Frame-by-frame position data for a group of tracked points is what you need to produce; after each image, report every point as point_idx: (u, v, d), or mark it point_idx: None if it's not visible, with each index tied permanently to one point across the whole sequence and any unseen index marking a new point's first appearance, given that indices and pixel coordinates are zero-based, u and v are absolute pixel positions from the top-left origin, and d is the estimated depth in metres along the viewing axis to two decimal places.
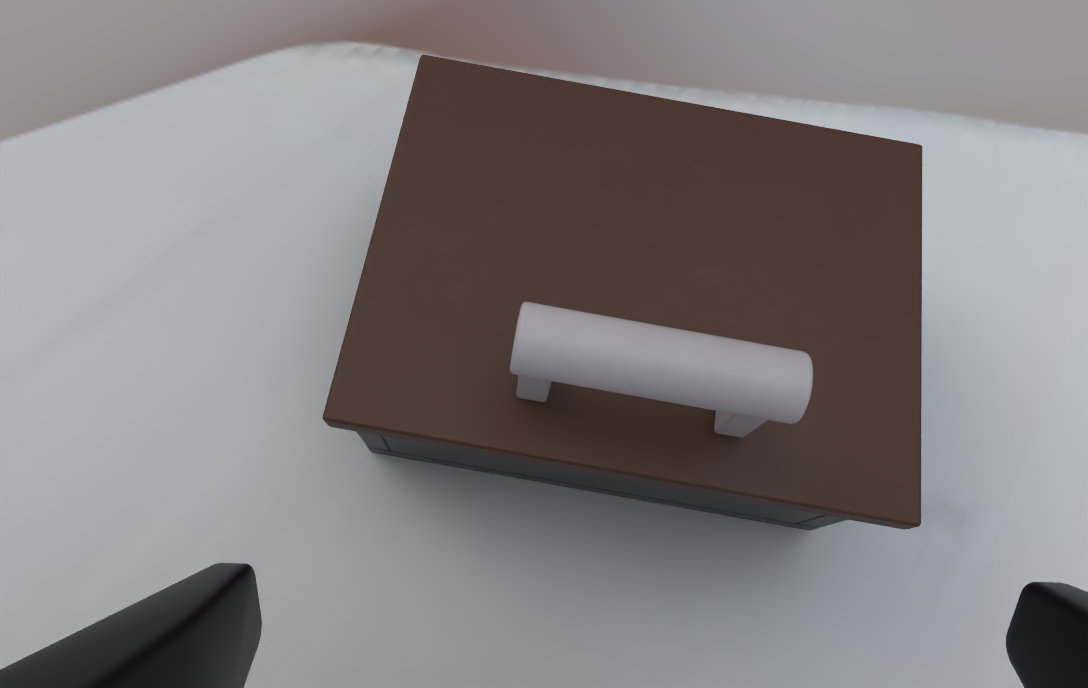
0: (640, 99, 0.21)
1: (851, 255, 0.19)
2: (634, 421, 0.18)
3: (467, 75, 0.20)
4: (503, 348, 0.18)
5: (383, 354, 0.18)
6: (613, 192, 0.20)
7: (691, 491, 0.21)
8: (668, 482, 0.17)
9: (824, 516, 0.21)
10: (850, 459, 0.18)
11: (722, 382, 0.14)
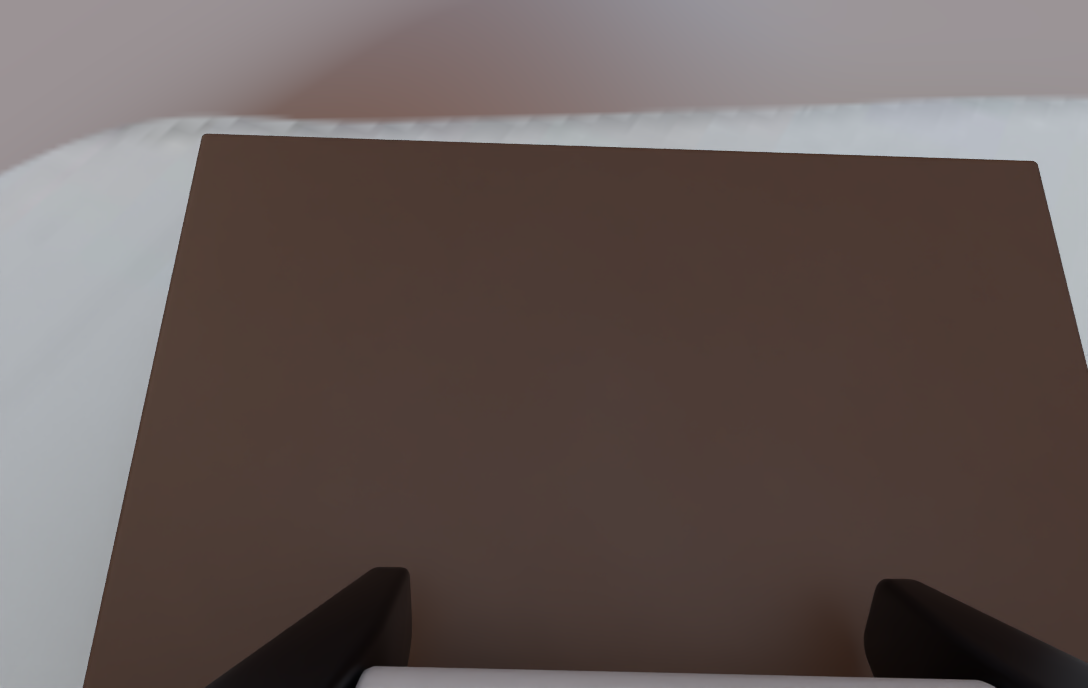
0: (571, 153, 0.12)
1: (967, 371, 0.11)
2: None
3: (281, 157, 0.12)
4: None
5: None
6: (547, 321, 0.11)
7: None
8: None
9: None
10: None
11: None
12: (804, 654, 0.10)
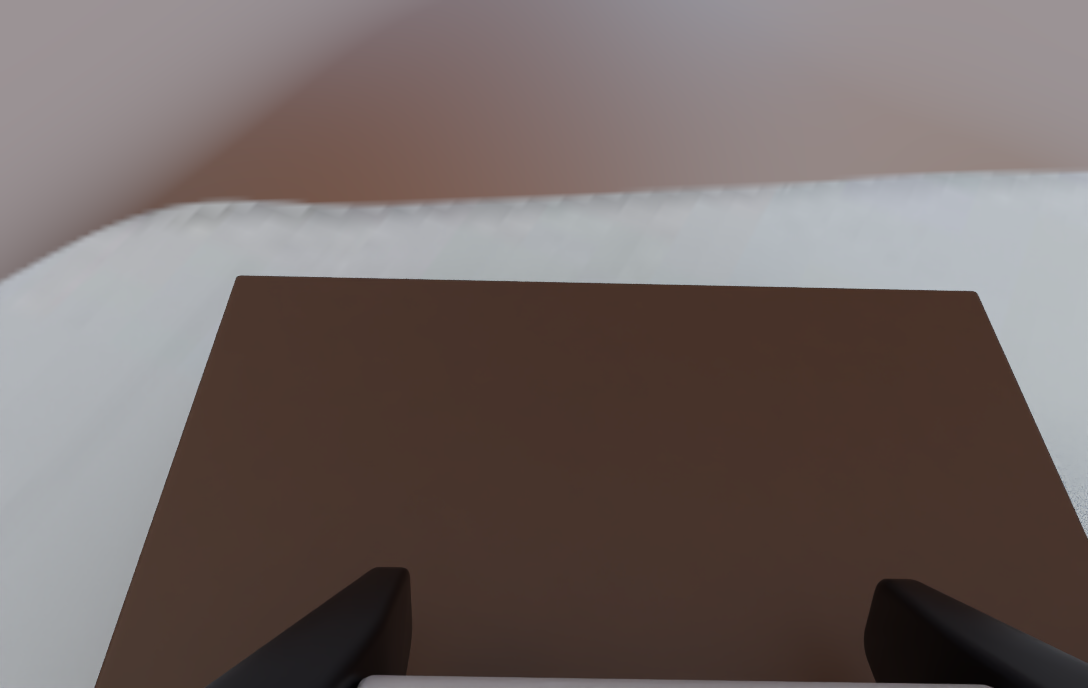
0: (563, 288, 0.14)
1: (941, 465, 0.12)
2: None
3: (305, 293, 0.14)
4: None
5: None
6: (543, 425, 0.12)
7: None
8: None
9: None
10: None
11: None
12: None
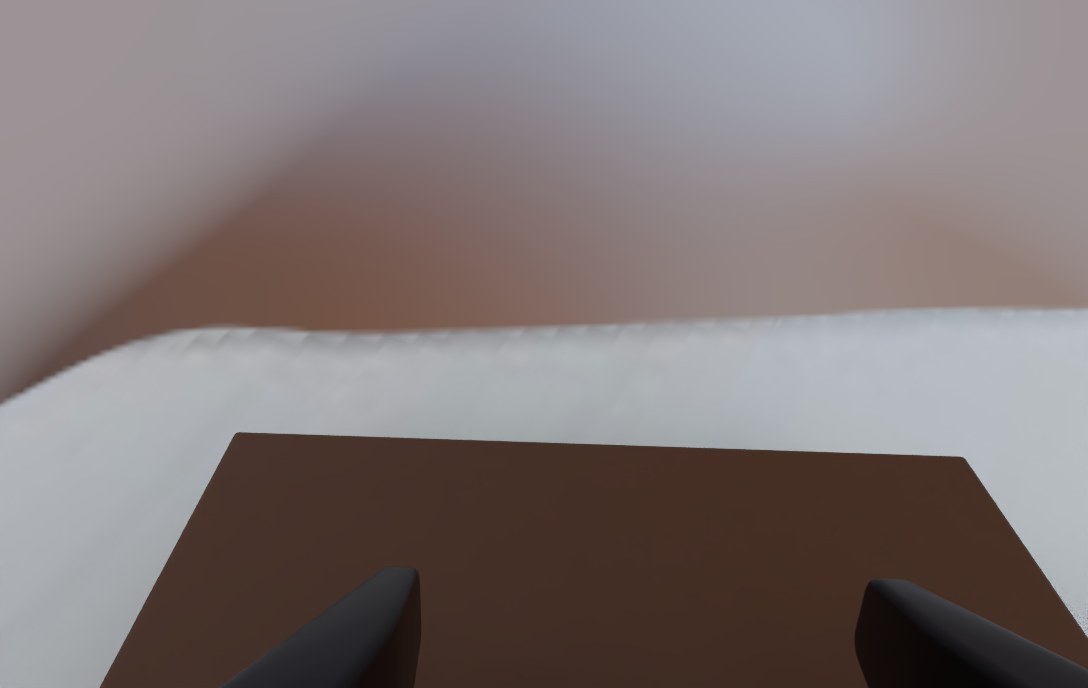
0: (557, 447, 0.14)
1: None
2: None
3: (302, 448, 0.14)
4: None
5: None
6: (539, 572, 0.12)
7: None
8: None
9: None
10: None
11: None
12: None
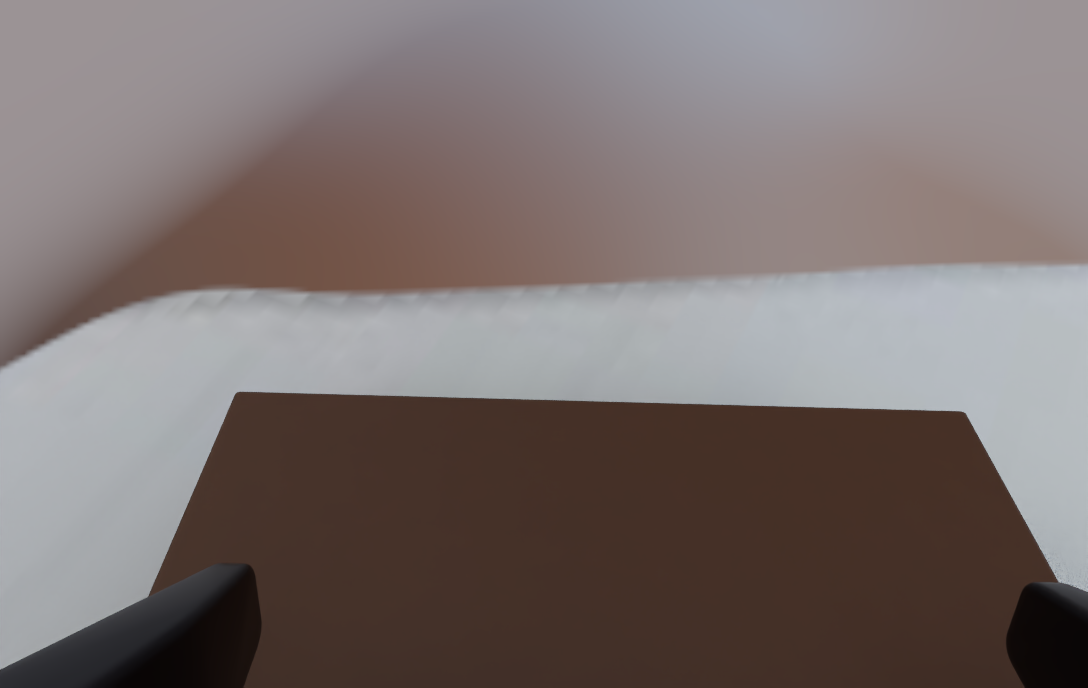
0: (558, 406, 0.14)
1: (944, 583, 0.12)
2: None
3: (303, 409, 0.14)
4: None
5: None
6: (538, 541, 0.12)
7: None
8: None
9: None
10: None
11: None
12: None
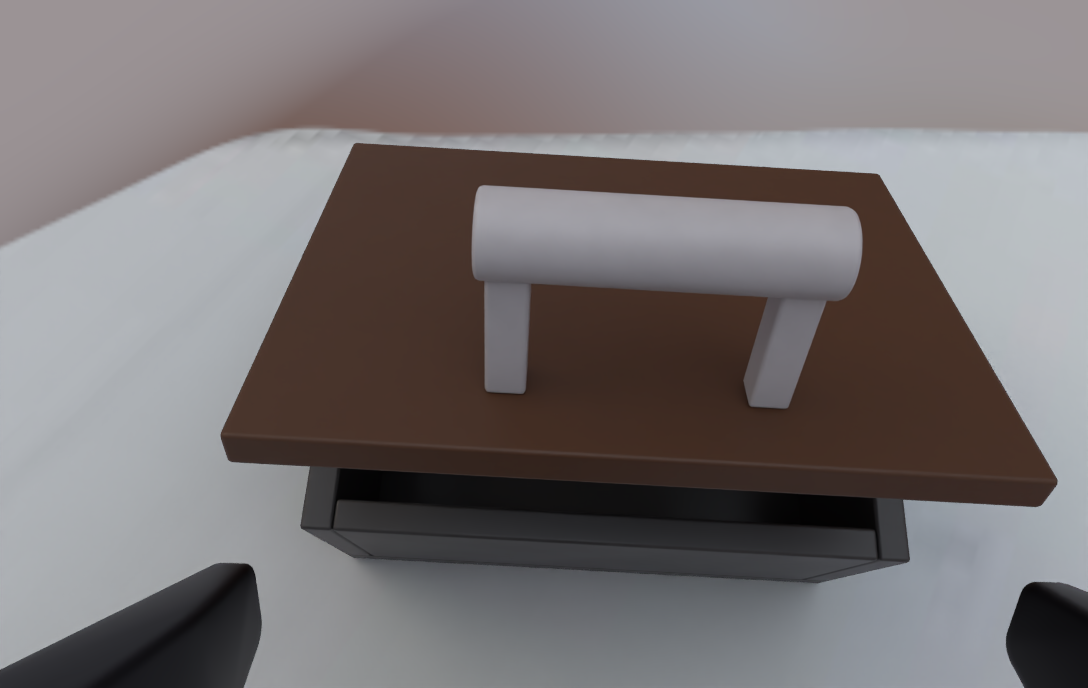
0: (584, 158, 0.20)
1: None
2: (642, 404, 0.13)
3: (403, 152, 0.20)
4: (463, 348, 0.14)
5: (307, 365, 0.14)
6: None
7: (688, 565, 0.20)
8: (706, 468, 0.13)
9: (830, 573, 0.20)
10: (932, 420, 0.13)
11: (747, 227, 0.11)
12: None
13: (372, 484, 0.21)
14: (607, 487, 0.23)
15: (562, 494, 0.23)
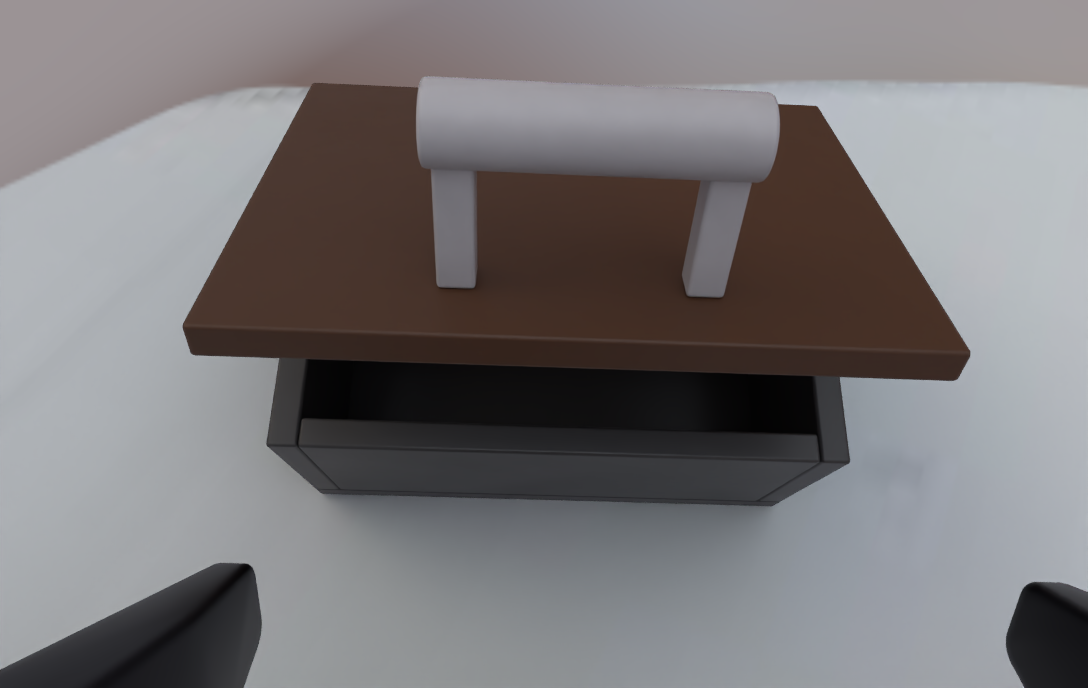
0: None
1: (784, 168, 0.18)
2: (586, 296, 0.14)
3: (360, 90, 0.20)
4: (416, 253, 0.15)
5: (267, 268, 0.14)
6: None
7: (645, 483, 0.21)
8: (645, 348, 0.13)
9: (780, 488, 0.21)
10: (857, 305, 0.14)
11: (673, 108, 0.12)
12: None
13: (338, 418, 0.22)
14: (568, 419, 0.23)
15: None
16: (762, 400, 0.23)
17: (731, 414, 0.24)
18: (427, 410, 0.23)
